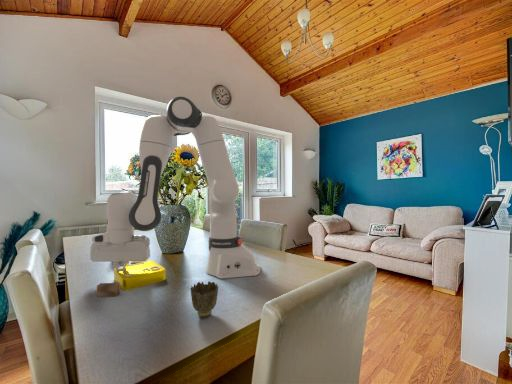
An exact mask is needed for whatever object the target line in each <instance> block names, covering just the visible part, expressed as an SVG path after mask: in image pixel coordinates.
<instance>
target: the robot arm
mask: <svg viewBox="0 0 512 384" xmlns="http://www.w3.org/2000/svg"><path fill="white" fill-rule="evenodd" d="M190 133H191V134H192V135H193V137H194V138H195V141H196V145H197V149H198V153H199V157H200V160H201V165H202V167H203V171H204V174H205V178H206V181H207V185H208V197H209V201H208V202H209V237H208V251H209V254H208V261H207V266H206V269H205V272H206V273H207V274H208V275H210V276H214V277H216V278H218V279H230V278H231V279H232V278H244V277H253V276H254V277H255V276H258V275H260V273H261V265H260V264H259V263H257V262H256V259H255V256H254V254H253V252H252V251H250V250H249V249H247V248H246V247H245V246H244V245H243V239H242V237H241V236H239V235H238V234H237V233H238V229H237V227H238V222H237V219H238V217H237V209H236V208H237V207H236V199H237V198H238V196H239V193H240V189H239V184H238V180H237V178H236V174H235V171H234V169H233V166H232V163H231V161H230V157H229V152H228V150H227V145H226V142H225V139H224V135H223V133H222V130H221V127H220V124H219V122H218V120H217V119H216V118H215V117H214V116H211V115H203V114H202V111H201V110H200V109H199V108H198V107H197V106H196V104H195V103H194V102H193V101H192V100H191V99H190V98H188V97H185V96H176V97H174V98H172V99H171V100H170V101H169V102H168V105H167V106H166V114H165V115H162V116H161V115H158V114H157V115H156V114H155V115H150V116H148V117H147V118H146V119H145V121H144V124H143V127H142V131H141V133H140V134H141V135H140V138H139V139H140V140H139V152H138V153H139V154H138V155H139V156H138V157H139V165H140V173H141V174H140V181H139V188H138V193H137V194H138V195H137V194H135V193H133V192H132V191H130V190H127V191H126V190H125V191H120V192H119V191H118V192H114V193H112V194H110V195H109V196H108V197H107V201H106V214H105V215H106V216H105V217H106V220H107V225H106V231H104V232H101V233H99V234H95V235H93V236H92V237H91V242H92V243H91V246H90V252H89V257H90V258H89V259H90V261H91V262H93V263H98V262H99V263H100V262H101V263H102V262H103V263H107V262H108V263H109V262H110V263H111V262H112V265H113V267H114V269H116V271H125V270H126V267H127V266H128V265H130V262H133V261H149V259H150V258H151V249H150V248H151V247H150V244H151V243H150V238H149V237H148V236H146V235H145V234H144V235H143V234H142V235H135V230H137V231H139V232H148V231H152V230H154V229H155V228H157V227H158V226H159V224H160V223H161V220H162V212H161V208H160V205H159V202H158V200H159V199H158V198H159V192H160V191H159V190H160V185H161V184H160V183H161V178H162V174H163V172H164V170H165V168H166V166H167V165H168V161H169V158H170V156H171V155H170V154H171V150H172V142H173V138H174V137H175V136H186V135H189V134H190ZM120 262H122V265H123V267H122V266H120Z"/></svg>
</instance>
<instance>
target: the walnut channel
mask: <svg viewBox="0 0 512 384" xmlns="http://www.w3.org/2000/svg"><path fill="white" fill-rule="evenodd" d="M147 261H148V260H146V261H130V265H132V264H136V263H142V262H147ZM120 289H121V288H120V287H119V283H116V282H107V283H106V282H100V283H98V284H97V285H96V297H101V298H103V297H117V296H119V295H120Z"/></svg>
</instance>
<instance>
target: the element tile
mask: <svg viewBox="0 0 512 384" xmlns="http://www.w3.org/2000/svg"><path fill="white" fill-rule="evenodd" d="M146 261H147V262H142V263H136V264H132V265H131V264H128V266H127V267H126V270H125V271H116V269H115V268H114V270H113V279H114V280H113V281H114V283H119V288H120V289H121V290H122V291H129V290H135V289H138V288H141V287H146V286H150V285H153V284H157V283H161V282H164V281H165V280H166V278H167V277H166V275H167V274H166V271H167V270H166V268H165V267H164V266H162V265H161V264H159V263H158V262H157V261H154V260H146ZM123 266H124V265H123ZM123 266H122V265H121V267H123Z"/></svg>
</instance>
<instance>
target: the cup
mask: <svg viewBox="0 0 512 384" xmlns="http://www.w3.org/2000/svg"><path fill="white" fill-rule="evenodd" d="M189 288H190V297H191V303H192V308H193V309H194V310H195V311H196V312H197V315H198V317H199V318H202V319H205V318H209V317H210V316H211V315H212V310H214V308H215V307H216V304H217V301H218V294H219V286H218V284H217V283H215V282H214V281H212V282H211V281H208V282H207V283H204V281H202V282H200V281H198V282H197V283H193V286H192V285H191V287H189Z"/></svg>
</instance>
